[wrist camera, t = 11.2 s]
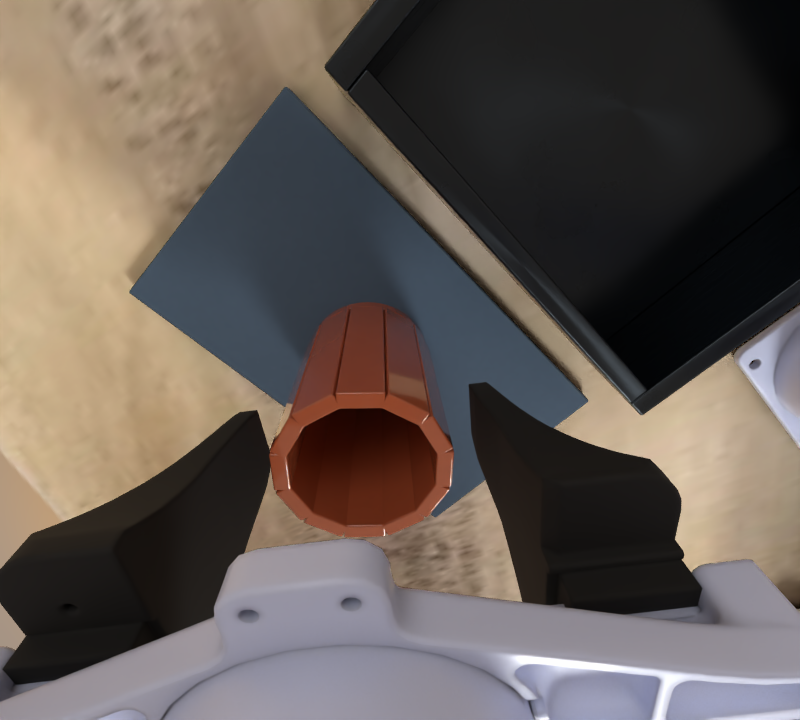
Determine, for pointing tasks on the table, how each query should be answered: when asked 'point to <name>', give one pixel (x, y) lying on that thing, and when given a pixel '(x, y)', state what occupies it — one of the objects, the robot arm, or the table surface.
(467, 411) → the mat
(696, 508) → the table surface
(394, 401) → the tumbler
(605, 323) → the tub
